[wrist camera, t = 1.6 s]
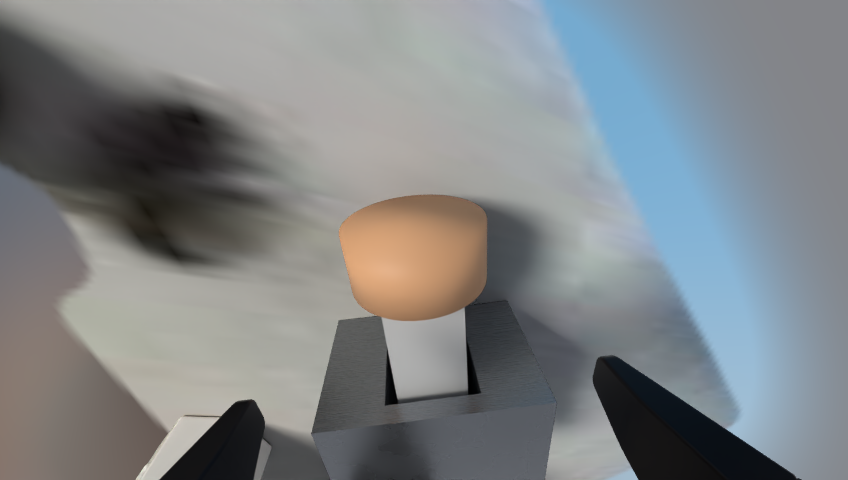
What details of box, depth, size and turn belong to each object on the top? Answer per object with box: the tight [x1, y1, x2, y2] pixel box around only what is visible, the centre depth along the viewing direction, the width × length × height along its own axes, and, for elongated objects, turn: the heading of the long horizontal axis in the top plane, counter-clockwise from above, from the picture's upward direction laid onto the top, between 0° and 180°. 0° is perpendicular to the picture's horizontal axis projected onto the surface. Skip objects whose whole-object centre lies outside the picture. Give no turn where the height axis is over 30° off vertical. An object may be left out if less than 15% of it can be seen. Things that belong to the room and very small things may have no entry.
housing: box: [311, 301, 557, 480], centre depth 21 cm, size 10×12×8 cm
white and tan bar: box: [339, 195, 487, 404], centre depth 18 cm, size 14×7×7 cm, turn 5°
